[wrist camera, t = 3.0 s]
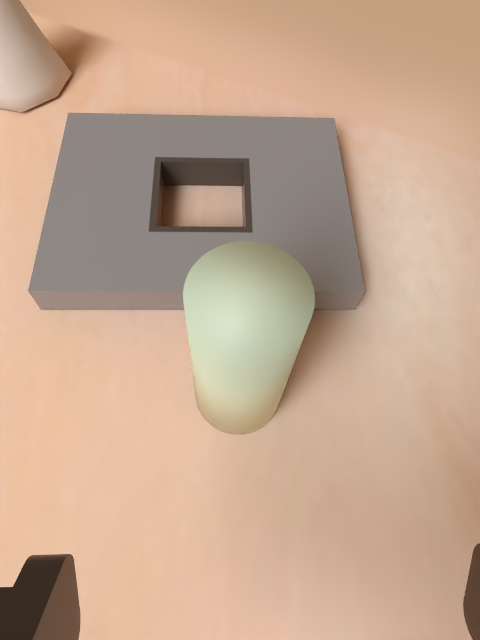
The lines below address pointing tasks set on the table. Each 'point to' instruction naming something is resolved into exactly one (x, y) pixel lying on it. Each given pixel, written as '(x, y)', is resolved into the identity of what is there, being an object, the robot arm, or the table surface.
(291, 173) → the socket plate
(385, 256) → the table surface
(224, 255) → the peg
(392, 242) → the table surface
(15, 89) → the flask
